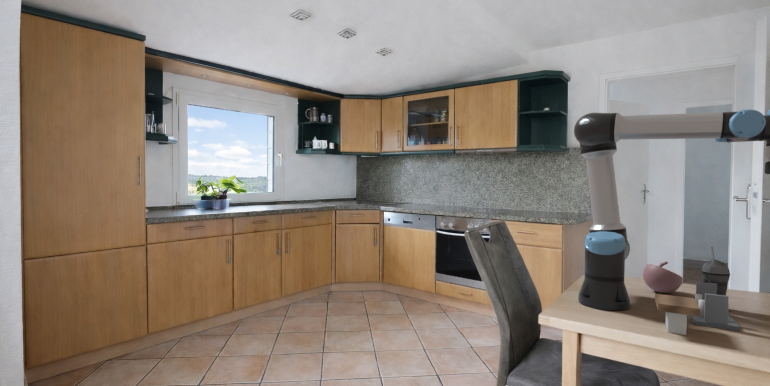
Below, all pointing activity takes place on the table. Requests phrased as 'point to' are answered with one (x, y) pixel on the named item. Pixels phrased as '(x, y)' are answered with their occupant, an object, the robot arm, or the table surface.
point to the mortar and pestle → (661, 278)
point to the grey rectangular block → (676, 323)
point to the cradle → (712, 308)
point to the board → (677, 305)
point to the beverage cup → (716, 274)
